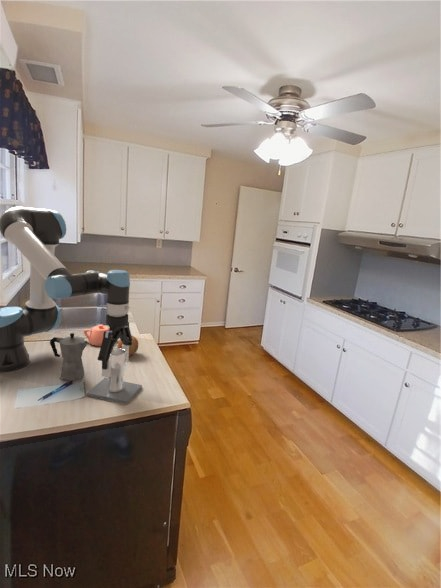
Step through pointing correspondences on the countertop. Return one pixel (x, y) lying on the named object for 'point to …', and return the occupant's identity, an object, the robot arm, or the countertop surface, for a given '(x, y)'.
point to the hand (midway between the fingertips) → (115, 368)
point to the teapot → (96, 334)
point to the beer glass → (116, 370)
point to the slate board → (120, 397)
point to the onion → (130, 346)
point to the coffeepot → (70, 356)
